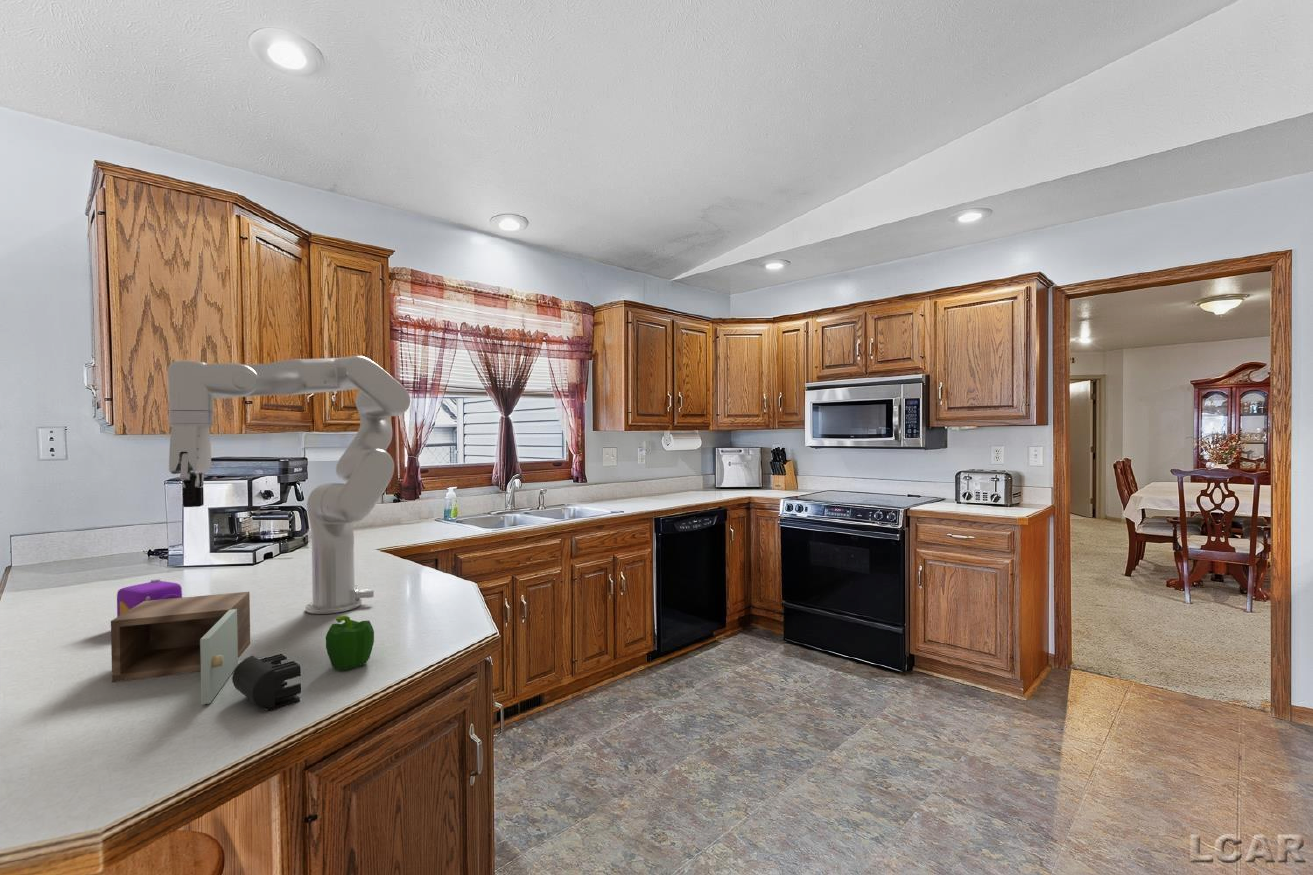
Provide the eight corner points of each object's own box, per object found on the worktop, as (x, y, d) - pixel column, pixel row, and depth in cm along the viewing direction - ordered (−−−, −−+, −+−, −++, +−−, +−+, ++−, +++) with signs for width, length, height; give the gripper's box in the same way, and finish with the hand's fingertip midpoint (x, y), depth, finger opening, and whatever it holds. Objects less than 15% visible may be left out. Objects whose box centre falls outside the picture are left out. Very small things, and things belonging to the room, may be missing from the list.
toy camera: (156, 635, 135) (155, 590, 135) (106, 631, 137) (105, 587, 137) (201, 620, 145) (200, 578, 145) (154, 617, 148) (154, 576, 148)
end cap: (232, 701, 101) (231, 660, 101) (279, 687, 106) (279, 648, 106) (252, 718, 94) (252, 675, 94) (302, 702, 100) (301, 661, 100)
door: (230, 665, 115) (229, 609, 115) (245, 663, 116) (244, 608, 116) (201, 704, 99) (200, 639, 98) (219, 701, 99) (218, 637, 99)
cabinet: (250, 643, 128) (249, 591, 128) (230, 666, 115) (229, 609, 115) (145, 655, 122) (144, 600, 122) (111, 682, 109) (110, 620, 109)
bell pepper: (361, 654, 121) (360, 604, 121) (381, 664, 116) (380, 611, 116) (316, 667, 115) (316, 614, 115) (335, 678, 110) (335, 622, 110)
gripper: (183, 420, 134) (184, 503, 135) (155, 419, 120) (157, 511, 121) (223, 420, 137) (225, 501, 137) (201, 419, 123) (202, 509, 123)
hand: (193, 506), depth 129 cm, fingers closed
